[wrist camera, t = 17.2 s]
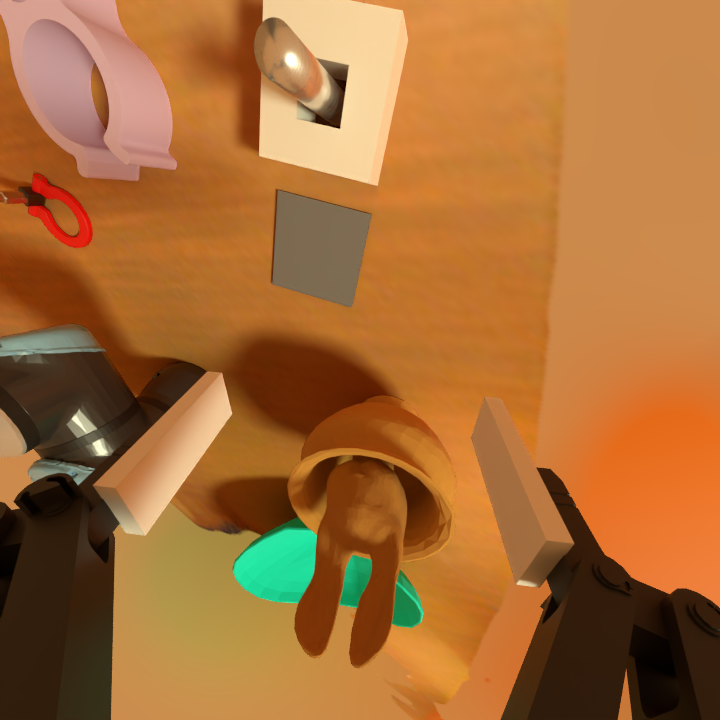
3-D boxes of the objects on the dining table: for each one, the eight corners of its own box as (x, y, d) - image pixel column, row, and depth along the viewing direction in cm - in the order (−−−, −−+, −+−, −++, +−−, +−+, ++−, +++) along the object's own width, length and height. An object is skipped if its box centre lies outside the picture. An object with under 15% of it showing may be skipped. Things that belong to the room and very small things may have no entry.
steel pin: (322, 123, 32) (253, 76, 20) (326, 87, 30) (254, 12, 18) (348, 129, 32) (294, 85, 20) (353, 93, 30) (298, 21, 18)
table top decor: (419, 495, 56) (414, 569, 45) (431, 575, 68) (430, 649, 57) (246, 483, 68) (208, 540, 56) (283, 554, 80) (257, 612, 68)
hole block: (281, 161, 35) (258, 155, 30) (289, 16, 28) (263, -17, 24) (377, 185, 33) (368, 183, 29) (408, 40, 27) (402, 10, 23)
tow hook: (101, 217, 44) (42, 167, 42) (-6, 227, 33) (-93, 161, 31) (89, 257, 48) (34, 214, 46) (-10, 278, 37) (-87, 222, 35)
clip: (25, -23, 32) (-68, -74, 26) (106, -76, 28) (20, -149, 22) (122, 185, 41) (69, 183, 35) (193, 164, 37) (147, 157, 31)
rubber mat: (273, 283, 42) (272, 284, 42) (279, 190, 36) (277, 189, 36) (352, 306, 41) (351, 307, 41) (371, 214, 35) (370, 214, 35)
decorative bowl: (443, 359, 42) (455, 611, 16) (458, 465, 51) (480, 738, 25) (312, 373, 48) (172, 568, 23) (345, 465, 57) (271, 681, 31)
